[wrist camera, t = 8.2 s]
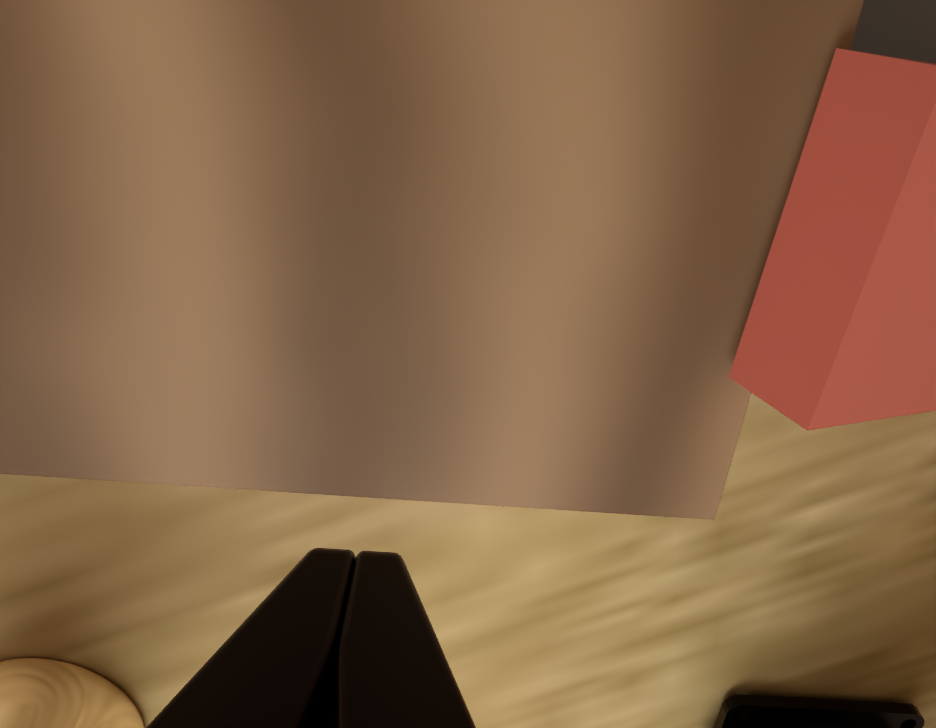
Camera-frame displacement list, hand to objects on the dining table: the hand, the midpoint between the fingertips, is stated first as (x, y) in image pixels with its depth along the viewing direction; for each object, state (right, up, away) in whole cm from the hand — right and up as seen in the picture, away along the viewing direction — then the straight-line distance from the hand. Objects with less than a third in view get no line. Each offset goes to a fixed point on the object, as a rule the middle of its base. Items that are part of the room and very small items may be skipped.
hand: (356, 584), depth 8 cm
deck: (-1, +7, +10) cm, 12 cm away
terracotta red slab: (+11, +5, +8) cm, 14 cm away
